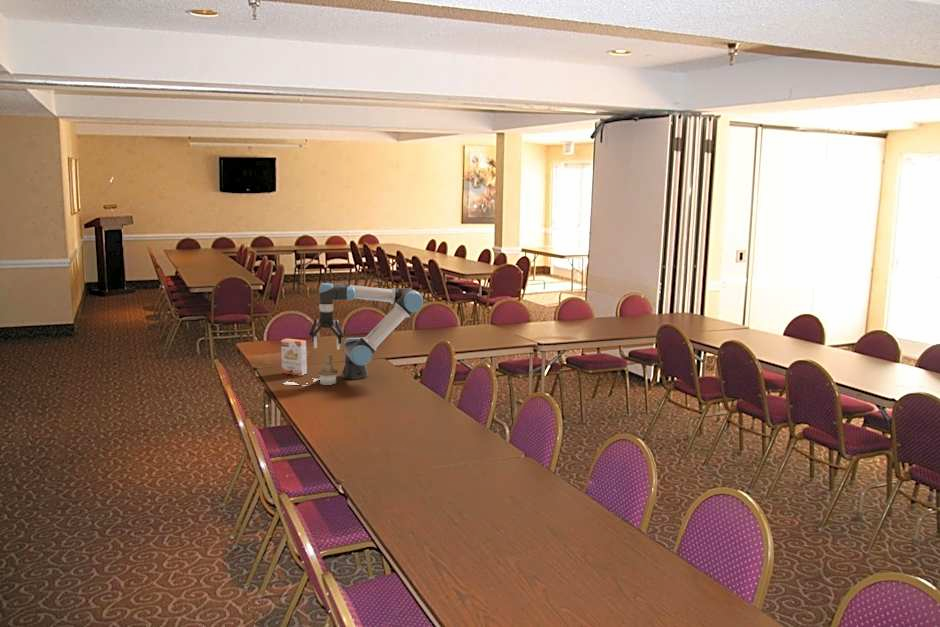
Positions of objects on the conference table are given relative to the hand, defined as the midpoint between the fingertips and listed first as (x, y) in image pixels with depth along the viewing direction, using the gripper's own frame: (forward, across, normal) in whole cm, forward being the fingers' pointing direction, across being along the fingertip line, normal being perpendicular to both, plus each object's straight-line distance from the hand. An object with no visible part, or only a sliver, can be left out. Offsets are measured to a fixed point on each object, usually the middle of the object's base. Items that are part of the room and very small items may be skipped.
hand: (326, 348), depth 433 cm
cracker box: (+21, -28, +16) cm, 38 cm away
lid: (+14, 0, 0) cm, 14 cm away
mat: (+20, -16, 0) cm, 26 cm away
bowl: (+20, 0, 0) cm, 21 cm away
